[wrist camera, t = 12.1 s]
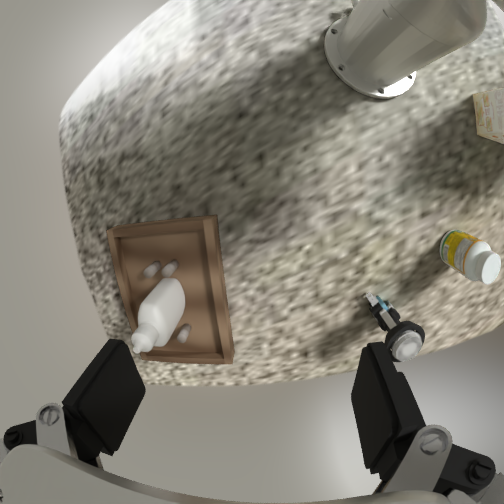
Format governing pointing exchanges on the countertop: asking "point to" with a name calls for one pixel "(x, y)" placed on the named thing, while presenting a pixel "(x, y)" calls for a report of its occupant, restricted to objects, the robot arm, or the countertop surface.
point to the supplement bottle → (470, 256)
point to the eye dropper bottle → (159, 315)
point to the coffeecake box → (490, 114)
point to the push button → (397, 331)
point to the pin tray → (190, 277)
